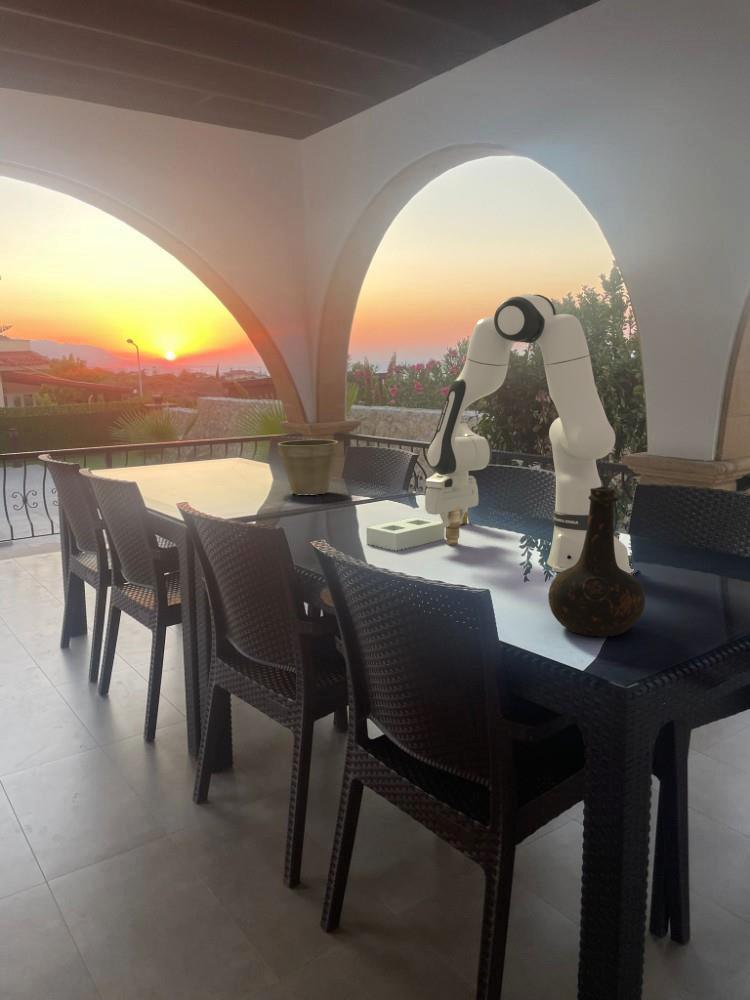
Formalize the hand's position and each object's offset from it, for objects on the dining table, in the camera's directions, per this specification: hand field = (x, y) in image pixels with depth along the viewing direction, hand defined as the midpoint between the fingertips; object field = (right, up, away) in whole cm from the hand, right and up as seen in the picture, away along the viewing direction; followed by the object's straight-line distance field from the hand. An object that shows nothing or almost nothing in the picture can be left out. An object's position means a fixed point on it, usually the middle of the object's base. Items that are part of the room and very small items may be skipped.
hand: (452, 525), depth 212 cm
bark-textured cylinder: (+5, -1, +30) cm, 31 cm away
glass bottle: (+20, -18, -70) cm, 75 cm away
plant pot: (-50, +10, +93) cm, 106 cm away
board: (-13, -5, +5) cm, 15 cm away
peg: (0, -6, +1) cm, 6 cm away
